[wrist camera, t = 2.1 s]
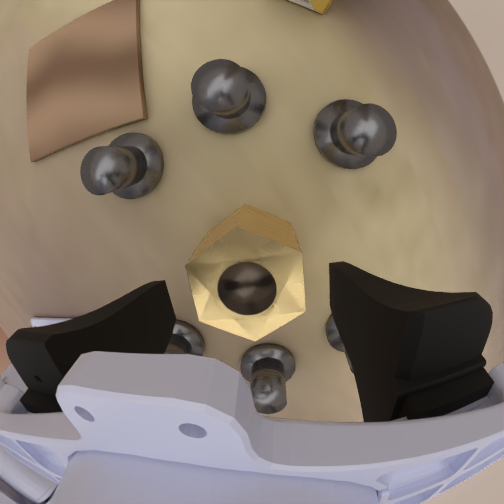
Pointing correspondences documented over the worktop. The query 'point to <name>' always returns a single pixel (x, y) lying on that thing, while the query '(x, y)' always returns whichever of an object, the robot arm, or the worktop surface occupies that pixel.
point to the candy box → (314, 4)
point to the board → (85, 79)
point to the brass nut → (248, 274)
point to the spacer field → (230, 122)
